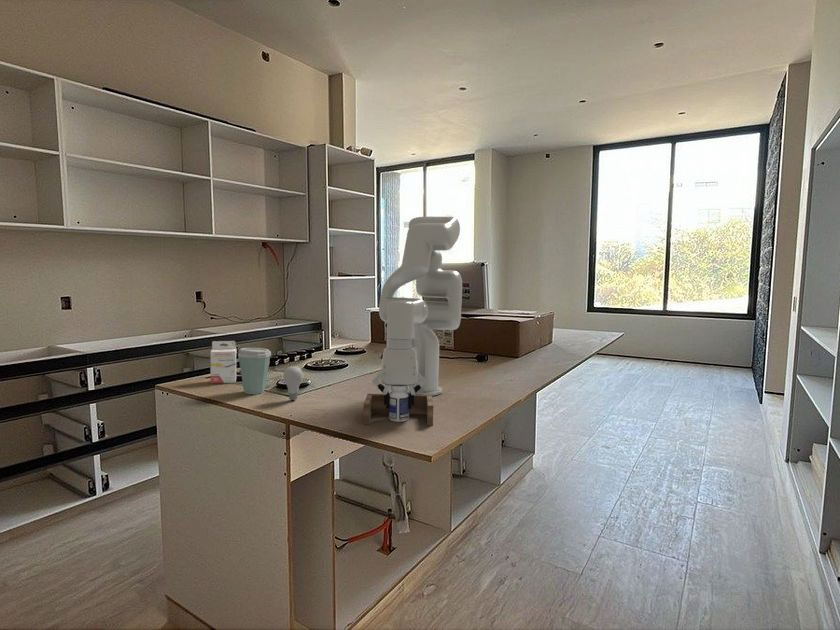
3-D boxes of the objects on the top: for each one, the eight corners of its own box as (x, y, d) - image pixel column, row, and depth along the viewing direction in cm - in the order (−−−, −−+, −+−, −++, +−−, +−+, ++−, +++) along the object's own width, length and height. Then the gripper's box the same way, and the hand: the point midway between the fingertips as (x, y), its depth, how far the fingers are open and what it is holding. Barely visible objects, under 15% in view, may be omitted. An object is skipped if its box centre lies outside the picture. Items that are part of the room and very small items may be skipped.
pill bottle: (408, 416, 138) (409, 382, 137) (408, 422, 132) (409, 387, 131) (388, 416, 138) (389, 382, 137) (388, 422, 132) (388, 387, 131)
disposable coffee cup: (256, 386, 167) (256, 344, 166) (278, 391, 162) (278, 347, 161) (231, 393, 158) (230, 348, 157) (253, 398, 153) (253, 352, 151)
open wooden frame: (367, 411, 141) (367, 393, 141) (431, 412, 142) (431, 394, 141) (363, 424, 130) (363, 404, 129) (432, 425, 130) (433, 405, 130)
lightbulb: (295, 404, 147) (295, 369, 146) (279, 401, 150) (279, 367, 148) (307, 399, 153) (307, 365, 152) (290, 397, 155) (290, 363, 154)
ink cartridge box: (210, 384, 170) (209, 343, 169) (211, 380, 175) (210, 341, 173) (236, 382, 173) (235, 342, 171) (236, 379, 177) (236, 340, 176)
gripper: (430, 342, 137) (428, 404, 138) (370, 341, 137) (369, 403, 138) (431, 347, 129) (429, 412, 131) (368, 345, 129) (367, 410, 131)
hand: (398, 406), depth 135 cm, fingers closed on pill bottle, 5 cm apart
